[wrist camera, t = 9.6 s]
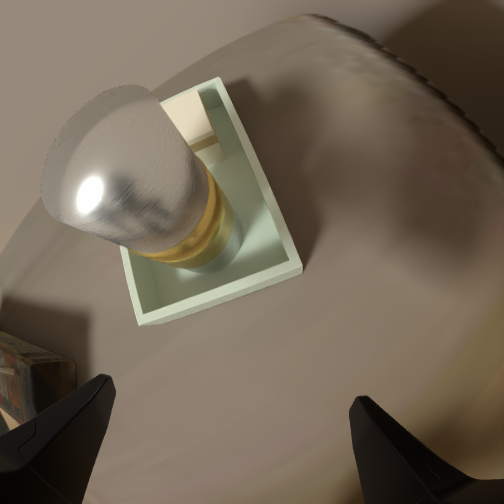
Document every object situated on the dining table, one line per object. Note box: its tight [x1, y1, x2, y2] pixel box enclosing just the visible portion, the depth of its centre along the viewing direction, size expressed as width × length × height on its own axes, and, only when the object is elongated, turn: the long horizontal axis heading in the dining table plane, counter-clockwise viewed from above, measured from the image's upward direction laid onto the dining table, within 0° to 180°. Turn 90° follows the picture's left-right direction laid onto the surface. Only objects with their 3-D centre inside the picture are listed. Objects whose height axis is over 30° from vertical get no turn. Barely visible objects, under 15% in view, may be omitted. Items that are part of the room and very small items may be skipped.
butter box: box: [161, 89, 226, 167], centre depth 21 cm, size 5×7×4 cm
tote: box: [120, 77, 303, 326], centre depth 20 cm, size 17×11×4 cm, turn 20°
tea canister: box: [41, 85, 243, 274], centre depth 14 cm, size 6×6×13 cm
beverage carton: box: [0, 330, 76, 425], centre depth 19 cm, size 8×19×7 cm, turn 88°
